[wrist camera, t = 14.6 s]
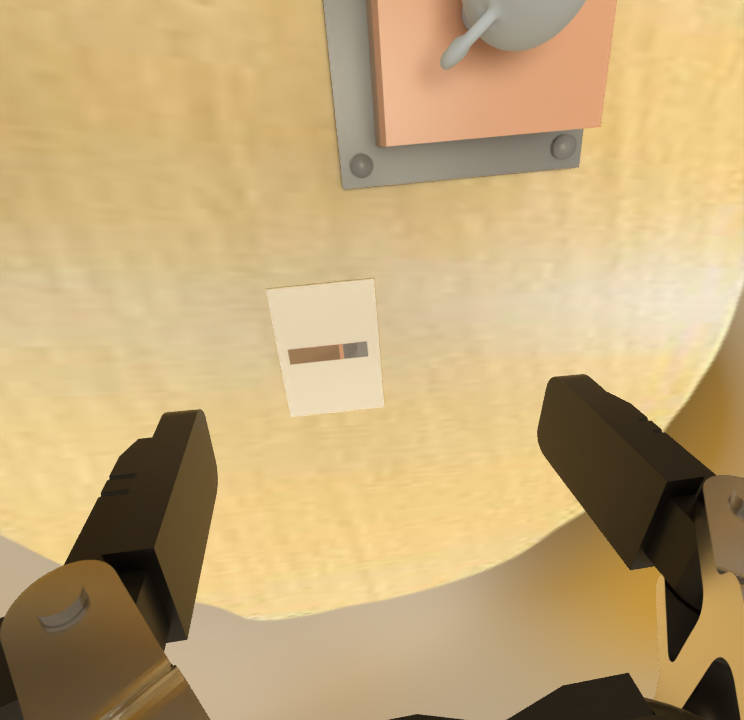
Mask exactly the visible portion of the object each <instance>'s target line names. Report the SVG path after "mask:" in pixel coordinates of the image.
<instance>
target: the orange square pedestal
mask: <svg viewBox="0 0 744 720" xmlns="http://www.w3.org/2000/svg"><path fill="white" fill-rule="evenodd" d="M323 4H324V14H325V23H326V33H327V43H328V52H329V62H330V71H331V81H332V90H333V100H334V110H335V119H336V129H337V138H338V148H339V158H340V167H341V177H342V186H343V190H345V189H355V188H366V187H376V186H387V185H397V184H408V183H418V182H429V181H439V180H450V179H460V178H471V177H481V176H492V175H503V174H513V173H524V172H534V171H545V170H555V169H566V168H576V167H579V162H580V153H581V144H582V136H583V128H594V127H601V119H602V111H603V104H604V96H605V88H606V81H607V73H608V65H609V58H610V50H611V42H612V35H613V27H614V19H615V12H616V4H617V0H586V2H585V3H584V5H583V6H582V8H581V9H580V10H579V12H578V13H577V14H576V16H575V17H574V18H573V19H572V20H571V22H570V23H569V24H568V25H567V26H566V27H565V28H564V29H563V30H562V31H561V32H559V33H558V34H557V35H556V36H554V37H553V38H552V39H550V40H549V41H547V42H545V43H543V44H541V45H539V46H537V47H535V48H532V49H529V50H524V51H504V50H500V49H497V48H495V47H493V46H491V45H489V44H487V43H486V42H485V41H483V40H482V39H481V38H480V37H479V38H478V39H477V40H476V41H475V42H474V43H473V44H472V46H471V47H470V48H469V51H468V53H467V55H466V56H465V57H464V58H463V59H462V60H461V61H460V62H458V63H457V64H456V65H455V66H453V67H452V68H450V69H448V70H444V69H443V68H442V67H441V65H440V59H441V56H442V54H443V53H444V52H445V50H446V49H447V48H448V47H449V45H450V44H451V43H452V42H453V40H454V39H455V38H457V37H458V36H461V35H464V34H465V33H466V32H467V31H468V29H467V28H466V27H465V25H464V23H463V20H462V8H463V4H462V0H323Z"/></svg>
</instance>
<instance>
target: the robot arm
mask: <svg viewBox="0 0 744 720" xmlns="http://www.w3.org/2000/svg"><path fill="white" fill-rule="evenodd" d="M537 437H538V443H539V446H540V449H541V451H542V453H543V455H544V456H545V458H546V459H547V460H548V462H549V463H550V464H551V466H552V467H553V468H554V470H555V471H556V472H557V474H558V475H559V476H560V478H561V479H562V480H563V482H564V483H565V484H566V486H567V487H568V488H569V490H570V491H571V492H572V494H573V495H574V496H575V498H576V499H577V500H578V502H579V503H580V504H581V505H582V507H583V508H584V509H585V511H586V512H587V513H588V515H589V516H590V517H591V519H592V520H593V521H594V523H595V524H596V525H597V527H598V528H599V529H600V531H601V532H602V533H603V535H604V536H605V537H606V539H607V540H608V541H609V543H610V544H611V545H612V547H613V548H614V549H615V550H616V552H617V553H618V555H619V556H620V557H621V559H622V560H623V561H624V563H625V564H626V565H627V567H628V568H629V569H630V570H634V569H641V568H647V567H653V566H655V567H656V568H657V569H658V571H659V572H660V573H661V575H660V577H659V579H658V581H657V586H656V593H657V594H656V595H657V627H658V655H659V657H658V660H659V676H658V683H657V689H656V692H655V696H654V700H652V699H648V698H644V697H643V696H642V694H641V693H640V691H639V689H638V688H637V686H636V684H635V683H634V681H633V679H632V678H631V676H630V674H629V673H625V674H620V675H614V676H609V677H605V678H599V679H594V680H590V681H584V682H579V683H574V684H569V685H563V686H561V687H560V688H558V689H556V690H555V691H553V692H552V693H550V694H548V695H547V696H545V697H543V698H542V699H540V700H539V701H537V702H535V703H534V704H532V705H530V706H529V707H527V708H525V709H524V710H522V711H520V712H519V713H517V714H516V715H514V716H512V717H511V718H509V719H507V720H744V478H742V477H737V476H731V475H718V476H717V475H715V474H714V473H713V472H712V471H711V470H709V469H708V468H707V467H706V466H705V465H703V464H702V463H701V462H700V461H699V460H697V459H696V458H695V457H694V456H692V455H691V454H690V453H689V452H688V451H686V450H685V449H684V448H683V447H682V446H681V445H679V444H678V443H677V442H676V441H675V440H674V439H672V438H671V437H670V436H669V435H668V434H666V433H662V429H660V428H659V427H658V426H657V425H656V424H654V423H653V422H652V421H648V418H647V417H646V416H645V415H644V414H642V413H641V412H640V411H639V410H638V409H637V408H635V407H634V406H633V405H632V404H630V403H628V402H626V401H624V400H622V399H620V398H619V397H617V396H615V395H613V394H611V393H609V392H606V391H605V390H604V389H603V388H602V387H601V386H599V385H598V384H597V383H596V382H595V381H594V380H592V379H591V378H590V377H589V376H587V375H585V374H579V375H569V376H558V377H553V378H551V379H550V380H549V382H548V384H547V387H546V392H545V397H544V401H543V406H542V411H541V415H540V420H539V425H538V430H537ZM109 477H110V479H109V480H107V482H106V484H105V486H104V488H103V490H102V492H101V497H98V499H97V501H96V503H95V505H94V507H93V509H92V511H91V513H90V515H89V517H88V519H87V521H86V523H85V525H84V527H83V529H82V531H81V533H80V535H79V537H78V538H77V540H76V542H75V544H74V546H73V548H72V550H71V552H70V554H69V556H68V558H67V560H66V562H65V564H64V566H61V567H59V568H57V569H55V570H53V571H51V572H49V573H47V574H46V575H44V576H42V577H41V578H39V579H38V580H37V581H35V582H34V583H33V584H31V585H30V586H29V587H28V588H27V589H26V590H25V591H23V592H22V593H21V595H20V596H19V597H18V598H17V599H16V600H15V601H14V603H13V604H12V605H11V607H10V608H9V610H8V612H7V613H6V615H5V616H4V617H2V618H0V720H210V718H209V717H208V715H207V713H206V712H205V710H204V709H203V707H202V705H201V704H200V702H199V700H198V699H197V697H196V695H195V694H194V692H193V690H192V689H191V687H190V685H189V684H188V682H187V681H186V679H185V677H184V676H183V674H182V673H181V672H180V670H179V669H178V668H177V666H176V665H174V666H173V665H172V664H171V663H170V661H169V660H168V658H167V656H166V655H165V653H164V650H165V645H166V643H169V642H176V641H182V640H187V638H188V634H189V628H190V624H191V618H192V613H193V608H194V604H195V599H196V594H197V589H198V584H199V579H200V574H201V569H202V564H203V559H204V554H205V549H206V544H207V539H208V534H209V529H210V524H211V519H212V514H213V509H214V504H215V499H216V494H217V485H218V475H217V465H216V460H215V456H214V452H213V447H212V443H211V439H210V435H209V430H208V426H207V422H206V418H205V414H204V412H203V411H202V410H201V409H198V410H188V411H177V412H167V413H164V414H163V415H162V417H161V419H160V421H159V424H158V426H157V428H156V431H155V433H154V435H153V437H152V438H143V439H138V440H137V441H136V442H135V443H134V444H132V445H131V446H130V447H129V448H128V449H127V450H126V451H125V452H124V453H123V454H122V455H121V456H119V458H118V460H117V462H116V464H115V466H114V468H113V470H112V472H111V474H110V476H109ZM390 720H462V719H454V718H445V717H437V716H427V715H419V714H416V715H411V716H406V717H400V718H395V719H390Z"/></svg>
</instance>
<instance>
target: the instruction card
mask: <svg viewBox="0 0 744 720" xmlns="http://www.w3.org/2000/svg"><path fill="white" fill-rule="evenodd" d="M266 294H267V299H268V304H269V309H270V314H271V319H272V325H273V330H274V335H275V340H276V345H277V350H278V355H279V360H280V365H281V371H282V376H283V381H284V386H285V391H286V396H287V401H288V406H289V412H290V417H298V416H307V415H316V414H325V413H334V412H343V411H352V410H361V409H370V408H379V407H384V395H383V383H382V371H381V359H380V347H379V334H378V322H377V310H376V298H375V286H374V278H369V279H359V280H349V281H339V282H330V283H320V284H310V285H300V286H290V287H280V288H270V289H266Z"/></svg>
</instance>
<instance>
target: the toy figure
mask: <svg viewBox="0 0 744 720" xmlns="http://www.w3.org/2000/svg"><path fill="white" fill-rule="evenodd" d="M585 2H586V0H462V4H463V8H462V20H463V23H464V25H465V27H466V28H467V29H468V31H467V32H466V33H465V34H464V35H461V36H458V37H457V38H455V39H454V40H453V42H452V43H451V44H450V45H449V47H448V48H447V49H446V50H445V52H444V53H443V54H442V56H441V59H440V65H441V67H442V68H443V69H444V70H448V69H450V68H452V67H453V66H455V65H456V64H457V63H458V62H460V61H461V60H462V59H463V58H464V57H465V56H466V55H467V53H468V51H469V48H470V47H471V46H472V44H473V43H474V42H475V41H476V40H477V39H478V38H479V37H480V38H481V39H482V40H483V41H485V42H486V43H487V44H489V45H491V46H493V47H495V48H497V49H500V50H504V51H524V50H529V49H532V48H535V47H537V46H539V45H541V44H543V43H545V42H547V41H549V40H550V39H552V38H553V37H554V36H556V35H557V34H558V33H559V32H561V31H562V30H563V29H564V28H565V27H566V26H567V25H568V24H569V23H570V22H571V20H572V19H573V18H574V17H575V16H576V14H577V13H578V12H579V10H580V9H581V8H582V6H583V5H584V3H585Z"/></svg>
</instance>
